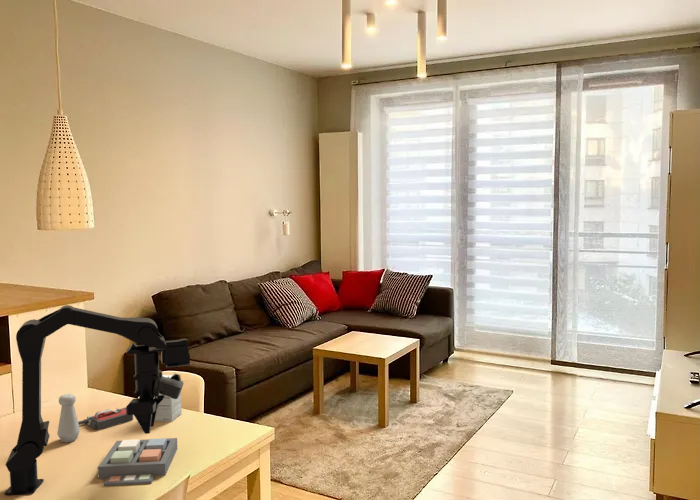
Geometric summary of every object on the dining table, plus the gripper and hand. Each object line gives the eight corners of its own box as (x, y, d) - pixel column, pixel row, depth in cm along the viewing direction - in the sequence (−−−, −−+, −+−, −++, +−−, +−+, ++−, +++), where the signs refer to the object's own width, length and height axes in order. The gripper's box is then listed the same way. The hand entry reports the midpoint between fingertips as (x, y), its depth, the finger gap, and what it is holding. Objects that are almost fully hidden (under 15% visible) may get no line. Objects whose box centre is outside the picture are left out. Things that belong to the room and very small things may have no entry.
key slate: (163, 452, 157) (163, 444, 157) (146, 453, 157) (145, 445, 156) (166, 445, 161) (166, 438, 161) (150, 446, 161) (149, 438, 161)
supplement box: (160, 412, 192) (159, 374, 191) (182, 413, 191) (181, 374, 190) (149, 421, 185) (147, 380, 184) (172, 422, 184) (170, 381, 183)
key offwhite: (136, 453, 156) (135, 446, 156) (118, 454, 156) (118, 446, 156) (140, 446, 161) (139, 439, 161) (123, 447, 160) (122, 440, 160)
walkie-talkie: (124, 413, 193) (60, 431, 178) (124, 400, 192) (59, 416, 178) (138, 420, 187) (72, 439, 172) (137, 406, 186) (71, 424, 172)
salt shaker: (71, 444, 167) (69, 399, 166) (53, 443, 169) (50, 398, 167) (84, 436, 173) (82, 392, 172) (66, 435, 174) (64, 391, 173)
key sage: (128, 465, 149) (128, 457, 149) (110, 466, 149) (110, 458, 149) (133, 457, 154) (133, 450, 154) (115, 458, 153) (115, 451, 153)
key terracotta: (157, 463, 150) (157, 456, 150) (139, 464, 150) (139, 457, 150) (161, 456, 154) (161, 448, 154) (143, 457, 154) (143, 449, 154)
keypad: (162, 482, 144) (161, 470, 144) (93, 486, 143) (92, 474, 142) (177, 448, 164) (177, 438, 164) (117, 451, 163) (116, 440, 162)
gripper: (173, 379, 142) (175, 443, 143) (186, 358, 160) (188, 415, 161) (124, 380, 141) (126, 445, 142) (143, 359, 159) (145, 417, 160)
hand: (149, 429), depth 151 cm, fingers open, 4 cm apart
